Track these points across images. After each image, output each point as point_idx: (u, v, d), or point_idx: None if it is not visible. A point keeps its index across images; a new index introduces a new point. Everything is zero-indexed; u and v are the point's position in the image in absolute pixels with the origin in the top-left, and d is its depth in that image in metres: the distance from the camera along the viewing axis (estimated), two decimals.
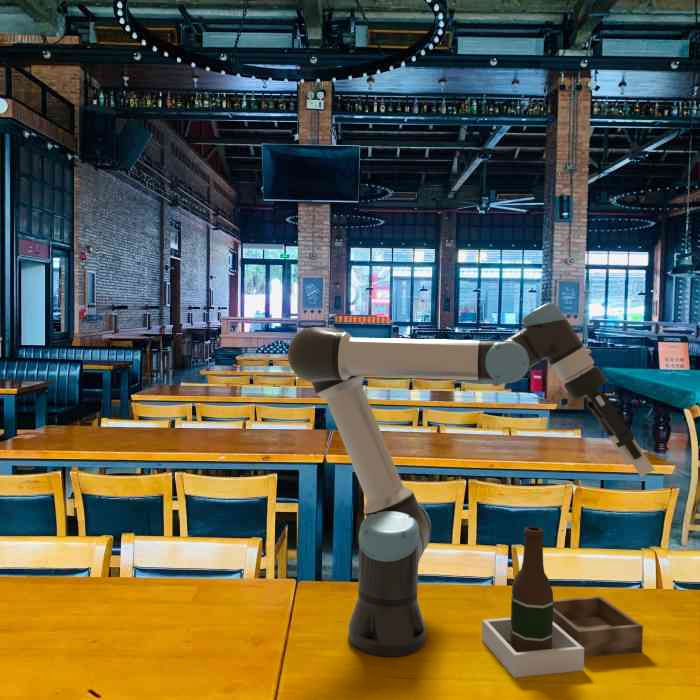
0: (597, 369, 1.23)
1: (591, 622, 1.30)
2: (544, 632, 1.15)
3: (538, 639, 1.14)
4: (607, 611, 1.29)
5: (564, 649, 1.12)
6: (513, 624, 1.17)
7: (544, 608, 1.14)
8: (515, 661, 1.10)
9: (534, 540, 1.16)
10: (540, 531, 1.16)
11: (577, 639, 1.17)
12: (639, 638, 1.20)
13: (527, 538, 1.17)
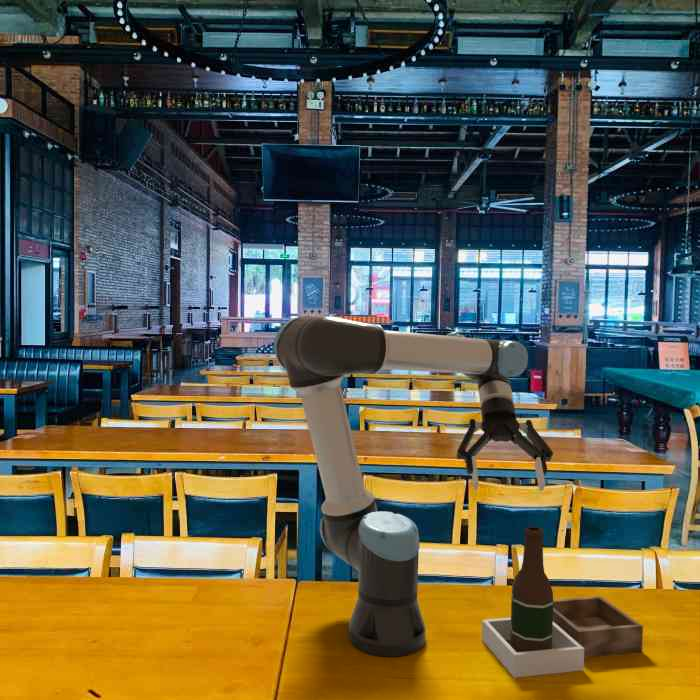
0: None
1: (591, 622, 1.30)
2: (544, 632, 1.15)
3: (538, 639, 1.14)
4: (607, 611, 1.29)
5: (564, 649, 1.12)
6: (513, 624, 1.17)
7: (544, 608, 1.14)
8: (515, 661, 1.10)
9: (534, 540, 1.16)
10: (540, 531, 1.16)
11: (577, 639, 1.17)
12: (639, 638, 1.20)
13: (527, 538, 1.17)
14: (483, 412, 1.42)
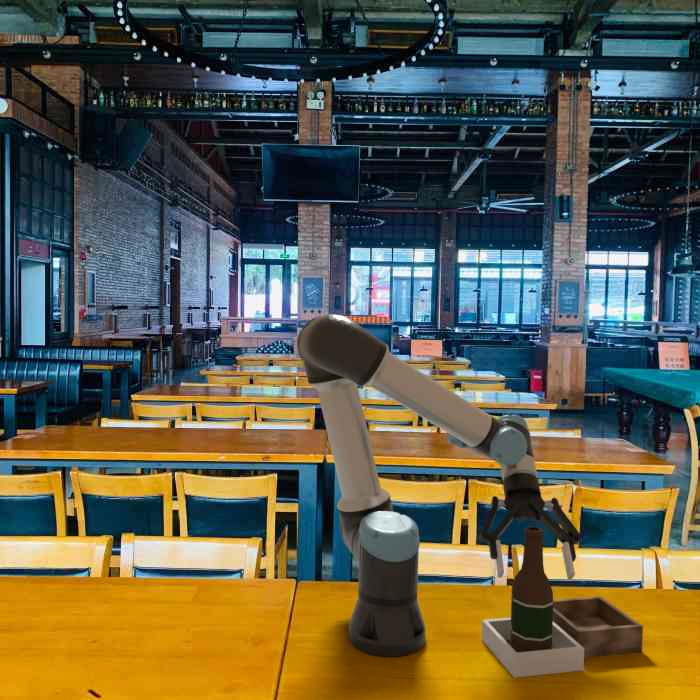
0: None
1: (591, 622, 1.30)
2: (544, 632, 1.15)
3: (538, 639, 1.14)
4: (607, 611, 1.29)
5: (564, 649, 1.12)
6: (513, 624, 1.17)
7: (544, 608, 1.14)
8: (515, 661, 1.10)
9: (534, 540, 1.16)
10: (540, 531, 1.16)
11: (577, 639, 1.17)
12: (639, 638, 1.20)
13: (527, 538, 1.17)
14: (506, 488, 1.34)
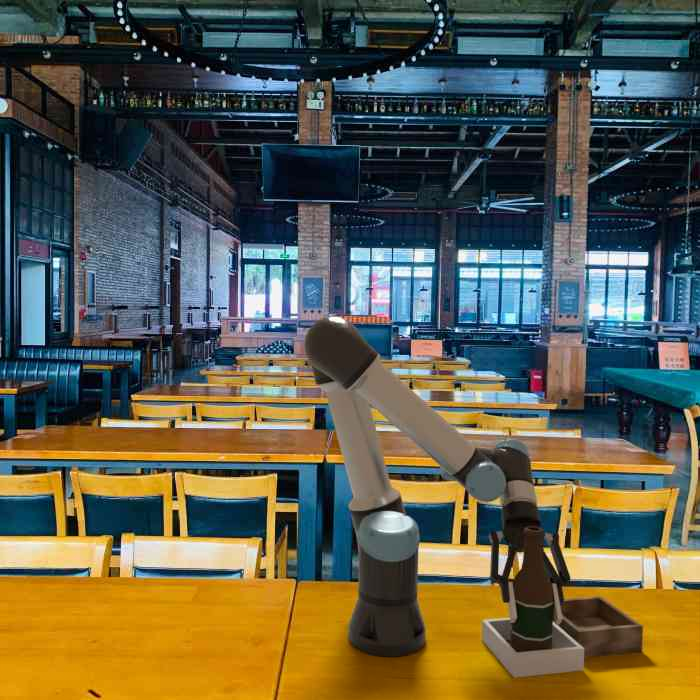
0: None
1: (591, 622, 1.30)
2: (544, 632, 1.15)
3: (538, 639, 1.14)
4: (607, 611, 1.29)
5: (564, 649, 1.12)
6: (513, 624, 1.17)
7: (544, 608, 1.14)
8: (515, 661, 1.10)
9: (534, 540, 1.16)
10: (540, 531, 1.16)
11: (577, 639, 1.17)
12: (639, 638, 1.20)
13: (527, 538, 1.17)
14: (504, 517, 1.27)
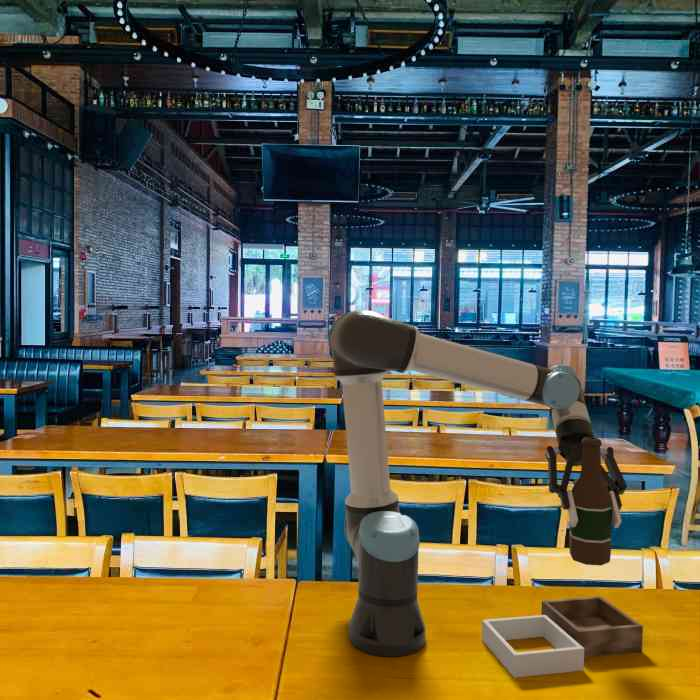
0: None
1: (591, 622, 1.30)
2: (604, 534, 1.20)
3: (598, 541, 1.20)
4: (607, 611, 1.29)
5: (564, 649, 1.12)
6: (573, 529, 1.23)
7: (603, 512, 1.20)
8: (515, 661, 1.10)
9: (592, 448, 1.22)
10: (598, 440, 1.22)
11: (577, 639, 1.17)
12: (639, 638, 1.20)
13: (585, 447, 1.23)
14: (559, 434, 1.33)
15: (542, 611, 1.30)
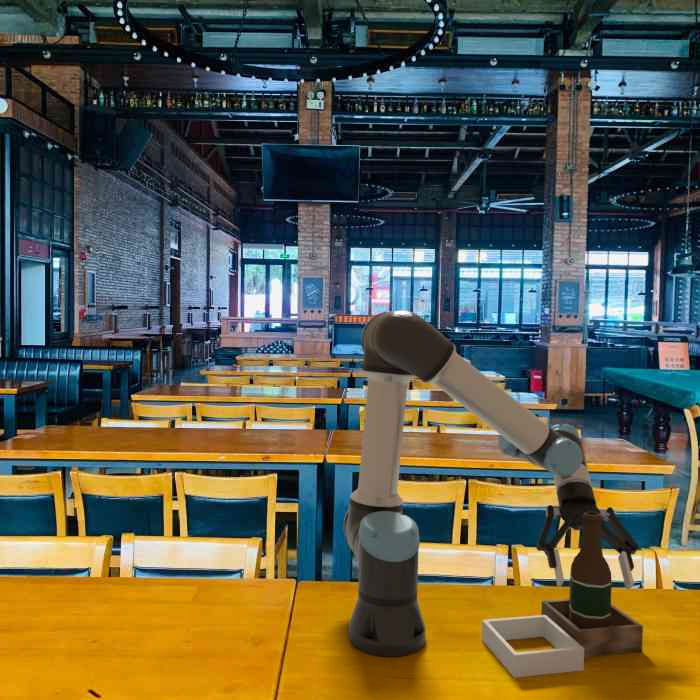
0: None
1: None
2: (603, 610, 1.22)
3: (598, 617, 1.21)
4: None
5: (564, 649, 1.12)
6: (573, 603, 1.24)
7: (603, 588, 1.21)
8: (515, 661, 1.10)
9: (593, 524, 1.23)
10: (599, 515, 1.23)
11: (577, 639, 1.17)
12: (639, 638, 1.20)
13: (586, 522, 1.24)
14: (561, 497, 1.34)
15: (542, 611, 1.30)
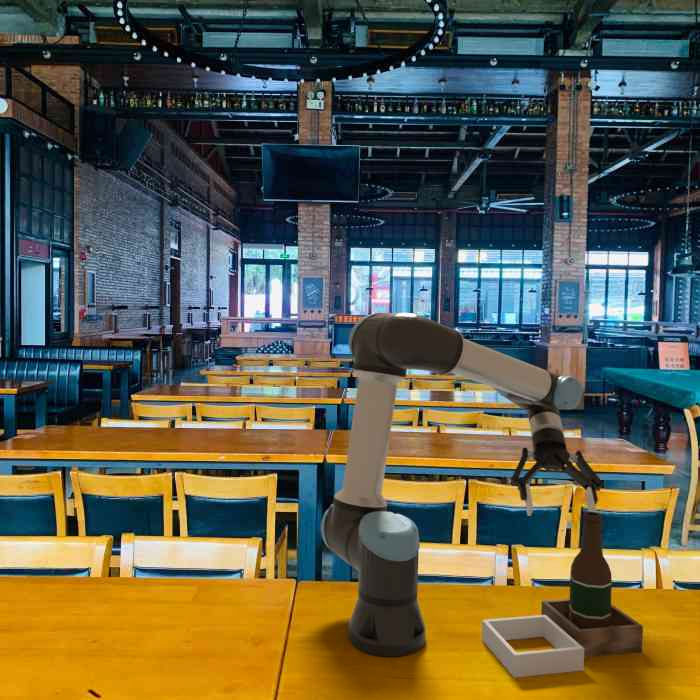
0: None
1: None
2: (604, 610, 1.22)
3: (598, 617, 1.21)
4: None
5: (564, 649, 1.12)
6: (573, 604, 1.24)
7: (604, 588, 1.21)
8: (515, 661, 1.10)
9: (593, 524, 1.23)
10: (599, 516, 1.23)
11: (577, 639, 1.17)
12: (639, 638, 1.20)
13: (586, 522, 1.24)
14: (535, 441, 1.49)
15: (542, 611, 1.30)
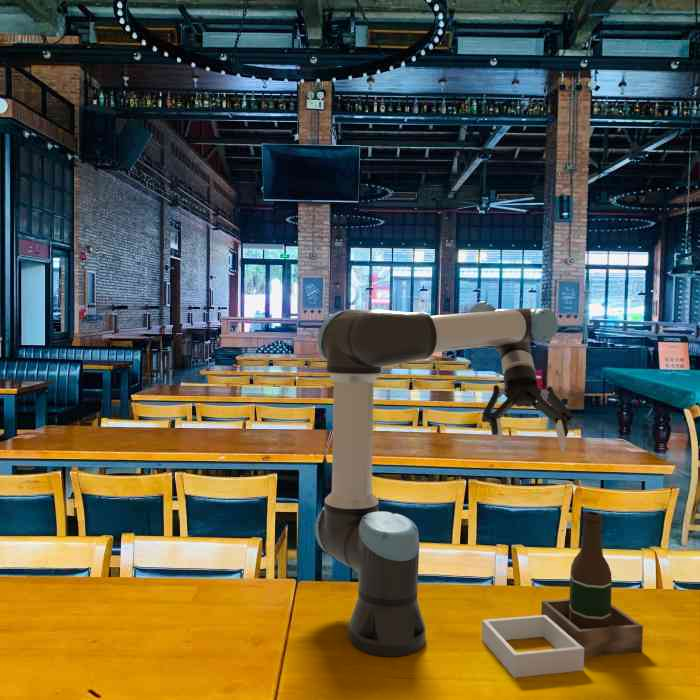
0: None
1: None
2: (604, 610, 1.22)
3: (598, 617, 1.21)
4: None
5: (564, 649, 1.12)
6: (573, 604, 1.24)
7: (604, 588, 1.21)
8: (515, 661, 1.10)
9: (593, 524, 1.23)
10: (599, 516, 1.23)
11: (577, 639, 1.17)
12: (639, 638, 1.20)
13: (586, 522, 1.24)
14: (506, 379, 1.49)
15: (542, 611, 1.30)
